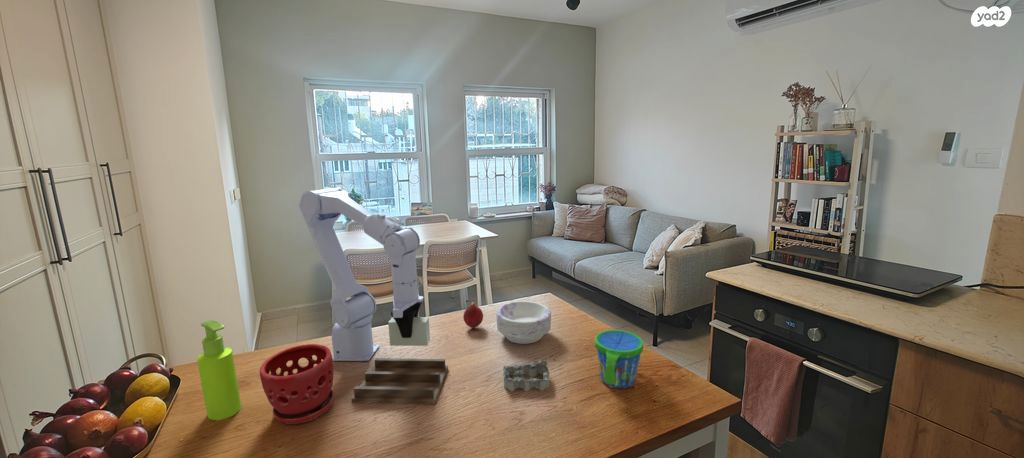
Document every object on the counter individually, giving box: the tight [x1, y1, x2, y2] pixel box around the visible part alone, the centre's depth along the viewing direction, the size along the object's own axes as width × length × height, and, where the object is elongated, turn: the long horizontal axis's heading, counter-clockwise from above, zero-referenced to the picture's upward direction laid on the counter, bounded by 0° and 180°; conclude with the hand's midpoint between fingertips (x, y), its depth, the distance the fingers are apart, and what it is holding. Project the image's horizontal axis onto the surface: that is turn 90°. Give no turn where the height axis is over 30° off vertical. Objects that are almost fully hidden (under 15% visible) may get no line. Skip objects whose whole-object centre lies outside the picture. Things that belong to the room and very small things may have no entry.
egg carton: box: [502, 359, 551, 392], centre depth 97 cm, size 11×8×4 cm
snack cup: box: [594, 329, 644, 389], centre depth 96 cm, size 16×10×10 cm
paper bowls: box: [496, 300, 552, 345], centre depth 119 cm, size 15×15×8 cm
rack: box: [350, 357, 449, 405], centre depth 97 cm, size 18×14×3 cm
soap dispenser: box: [196, 319, 242, 421], centre depth 86 cm, size 6×7×20 cm
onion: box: [463, 301, 484, 329], centre depth 125 cm, size 6×6×8 cm
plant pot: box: [259, 343, 335, 425], centre depth 87 cm, size 13×13×12 cm
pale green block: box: [387, 316, 431, 347], centre depth 103 cm, size 9×3×6 cm, turn 88°
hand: (408, 333), depth 103 cm, fingers closed on pale green block, 3 cm apart
